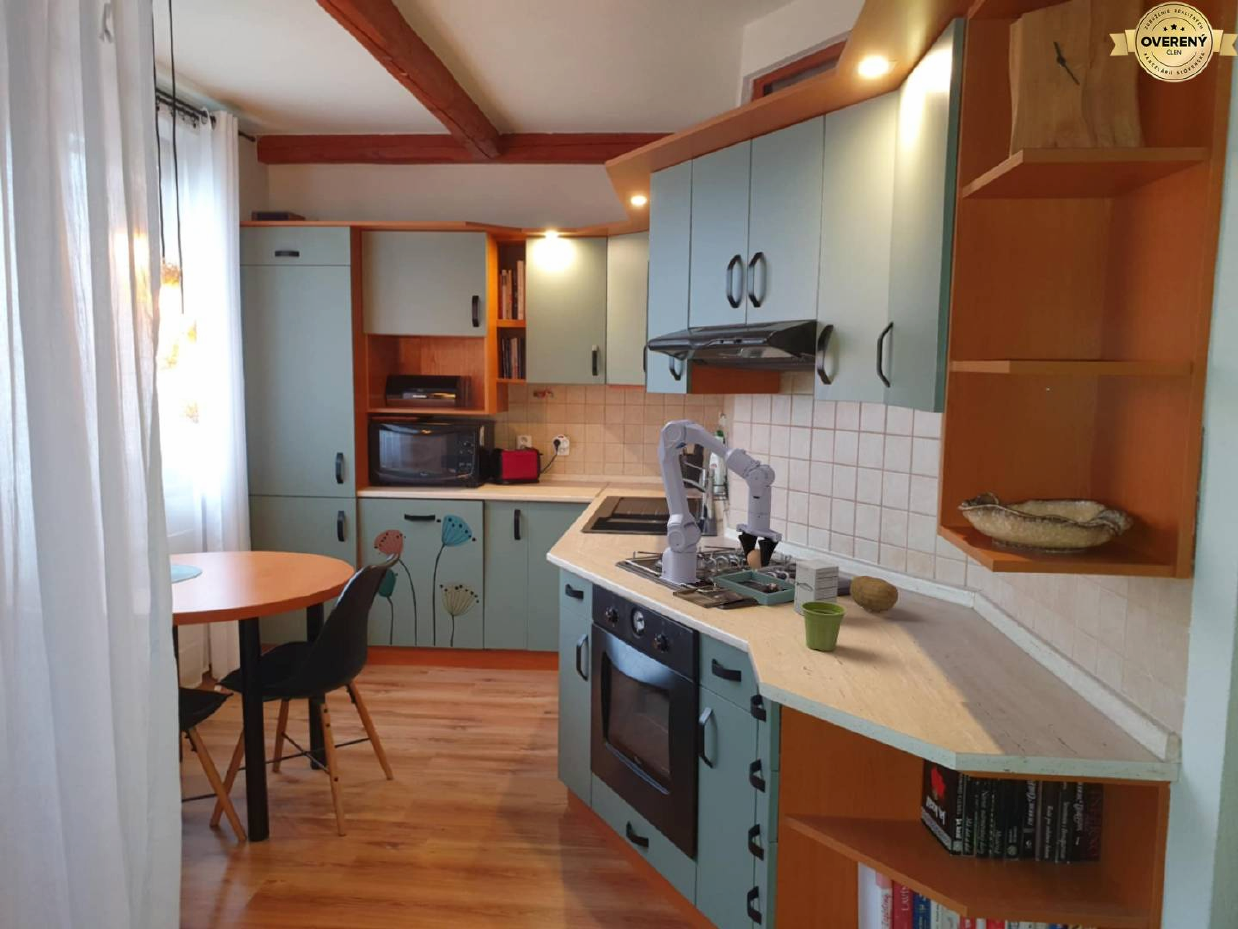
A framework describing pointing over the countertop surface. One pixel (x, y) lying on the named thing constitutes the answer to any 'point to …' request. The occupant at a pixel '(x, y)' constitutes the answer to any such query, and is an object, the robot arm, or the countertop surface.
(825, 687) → the countertop surface
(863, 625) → the countertop surface
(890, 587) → the potato
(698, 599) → the wooden trivet
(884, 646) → the countertop surface
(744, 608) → the countertop surface
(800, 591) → the supplement box
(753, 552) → the ball
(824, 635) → the plant pot
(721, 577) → the tray
